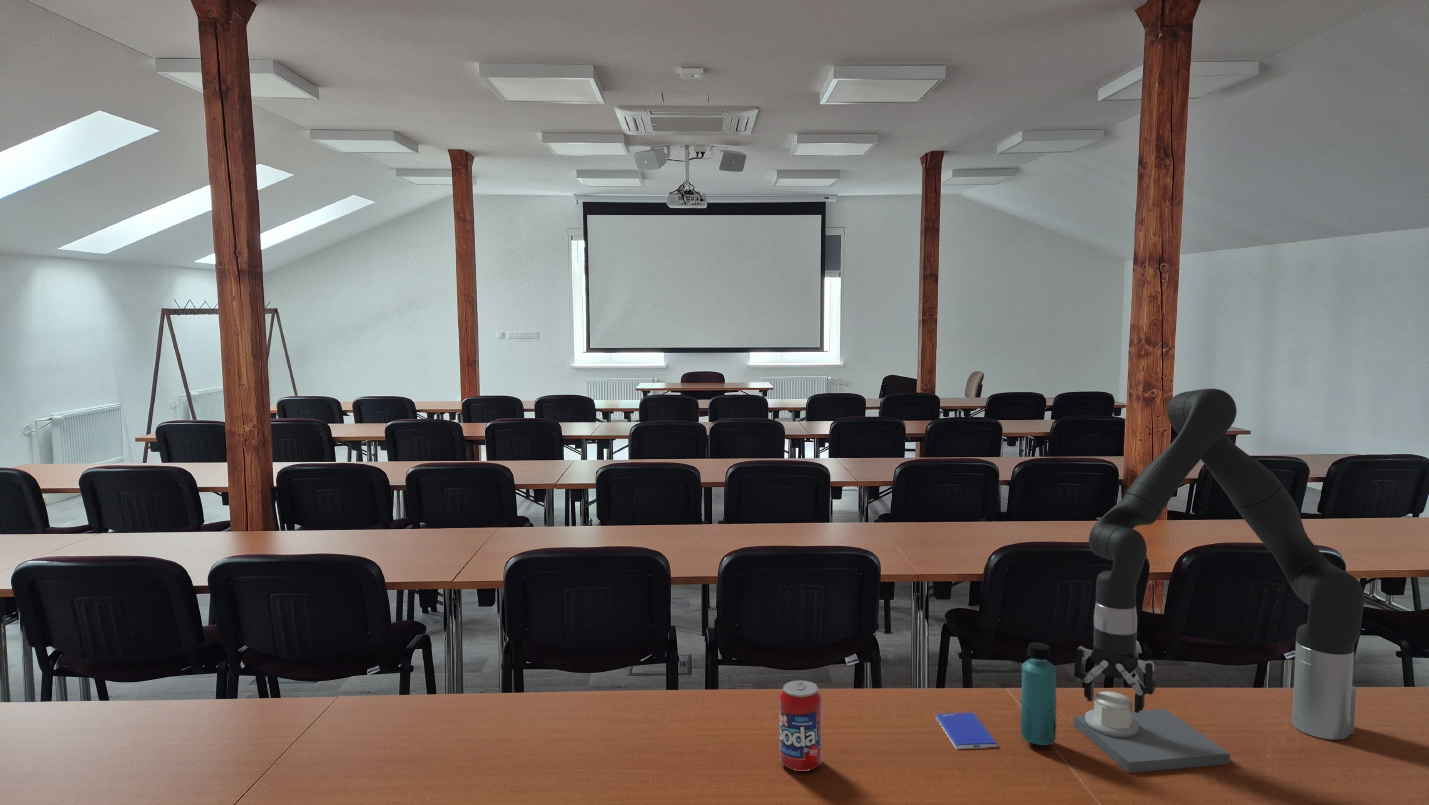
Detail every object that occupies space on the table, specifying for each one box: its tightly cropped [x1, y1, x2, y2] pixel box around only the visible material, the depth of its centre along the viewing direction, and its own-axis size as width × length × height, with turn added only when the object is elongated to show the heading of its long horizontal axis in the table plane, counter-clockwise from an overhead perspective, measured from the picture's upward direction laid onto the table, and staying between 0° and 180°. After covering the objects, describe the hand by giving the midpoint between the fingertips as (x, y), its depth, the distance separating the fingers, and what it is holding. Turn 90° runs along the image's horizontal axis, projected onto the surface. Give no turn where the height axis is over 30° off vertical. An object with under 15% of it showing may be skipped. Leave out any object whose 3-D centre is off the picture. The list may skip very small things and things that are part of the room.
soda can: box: [778, 679, 823, 770], centre depth 153 cm, size 8×8×15 cm
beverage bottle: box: [1019, 642, 1058, 746], centre depth 159 cm, size 6×7×20 cm
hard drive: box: [935, 712, 998, 750], centre depth 165 cm, size 2×8×12 cm
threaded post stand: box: [1073, 708, 1231, 774], centre depth 159 cm, size 20×18×6 cm
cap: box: [1093, 691, 1134, 729], centre depth 162 cm, size 6×6×4 cm
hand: (1113, 705), depth 162 cm, fingers open, 8 cm apart
